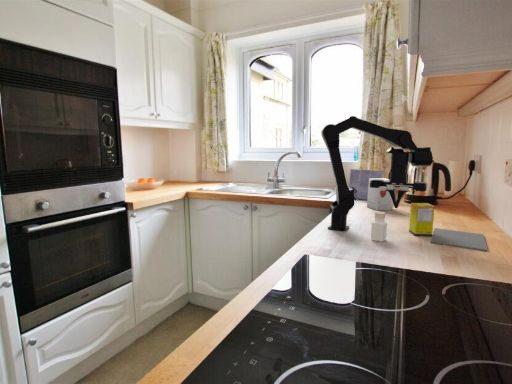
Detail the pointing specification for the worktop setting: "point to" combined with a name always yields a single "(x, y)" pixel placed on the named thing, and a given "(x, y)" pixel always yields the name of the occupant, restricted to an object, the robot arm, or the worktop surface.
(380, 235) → the pepper shaker
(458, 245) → the rubber mat
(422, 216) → the supplement box
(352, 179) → the cake pan box
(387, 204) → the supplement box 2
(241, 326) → the worktop surface
